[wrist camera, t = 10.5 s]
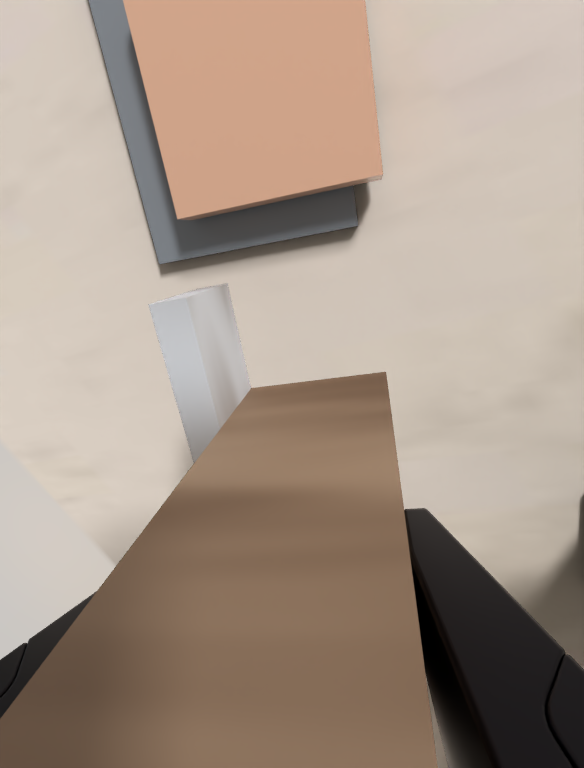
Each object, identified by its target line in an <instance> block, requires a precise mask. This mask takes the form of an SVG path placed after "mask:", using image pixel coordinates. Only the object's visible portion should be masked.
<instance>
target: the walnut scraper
mask: <svg viewBox="0 0 584 768" xmlns="http://www.w3.org/2000/svg"><path fill="white" fill-rule="evenodd" d="M148 305H149V308H150V312H151V315H152V319H153V322H154V326H155V329H156V333H157V336H158V340H159V343H160V347H161V350H162V354H163V357H164V361H165V364H166V368H167V371H168V374H169V378H170V381H171V385H172V388H173V392H174V395H175V399H176V402H177V406H178V409H179V413H180V416H181V420H182V423H183V427H184V430H185V434H186V437H187V441H188V444H189V448H190V451H191V455H192V458H193V462H194V464H193V466H192V467H191V468H190V470H189V471H188V472H187V474H186V475H185V476H184V477H183V479H182V480H181V481H180V483H179V484H178V485H177V487H176V488H175V489H174V491H173V492H172V493H171V495H170V496H169V497H168V499H167V500H166V501H165V503H164V504H163V505H162V506H161V508H160V509H159V510H158V512H157V513H156V514H155V516H154V517H153V518H152V520H151V521H150V522H149V524H148V525H147V526H146V528H145V529H144V530H143V531H142V533H141V534H140V535H139V537H138V538H137V539H136V541H135V542H134V543H133V545H132V546H131V547H130V549H129V550H128V551H127V553H126V554H125V555H124V557H123V558H122V559H121V560H120V562H119V563H118V564H117V566H116V567H115V568H114V570H113V571H112V572H111V574H110V575H109V576H108V578H107V579H106V580H105V582H104V583H103V584H102V586H101V587H100V588H99V589H98V591H97V592H96V593H95V595H94V596H93V597H92V599H91V600H90V601H89V603H88V604H87V605H86V607H85V608H84V609H83V611H82V612H81V613H80V614H79V616H78V617H77V618H76V620H75V621H74V622H73V624H72V625H71V626H70V628H69V629H68V630H67V632H66V633H65V634H64V636H63V637H62V638H61V640H60V641H59V642H58V643H57V645H56V646H55V647H54V649H53V650H52V651H51V653H50V654H49V655H48V657H47V658H46V659H45V661H44V662H43V663H42V665H41V666H40V667H39V669H38V670H37V671H36V672H35V674H34V675H33V676H32V678H31V679H30V680H29V682H28V683H27V684H26V686H25V687H24V688H23V690H22V691H21V692H20V694H19V695H18V696H17V698H16V699H15V700H14V701H13V703H12V704H11V705H10V707H9V708H8V709H7V711H6V712H5V713H4V715H3V716H2V717H1V719H0V768H438V766H437V758H436V751H435V743H434V736H433V728H432V720H431V713H430V705H429V697H428V690H427V682H426V674H425V667H424V659H423V651H422V644H421V636H420V628H419V621H418V613H417V606H416V598H415V590H414V583H413V575H412V567H411V560H410V552H409V544H408V537H407V529H406V521H405V514H404V506H403V498H402V491H401V483H400V476H399V468H398V460H397V453H396V445H395V437H394V430H393V422H392V414H391V407H390V399H389V391H388V384H387V376H386V372H381V373H372V374H364V375H356V376H348V377H340V378H331V379H323V380H315V381H307V382H299V383H290V384H282V385H274V386H266V387H258V388H251V385H250V381H249V376H248V372H247V368H246V363H245V359H244V354H243V350H242V345H241V341H240V337H239V332H238V328H237V323H236V319H235V315H234V310H233V306H232V301H231V297H230V292H229V288H228V284H221V285H216V286H210V287H205V288H199V289H195V290H192V291H189V292H186V293H183V294H180V295H177V296H173V297H170V298H167V299H164V300H161V301H158V302H155V303H151V304H148Z"/></svg>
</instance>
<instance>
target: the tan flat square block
mask: <svg viewBox="0 0 584 768" xmlns="http://www.w3.org/2000/svg"><path fill="white" fill-rule="evenodd" d="M123 3H124V7H125V11H126V15H127V19H128V23H129V27H130V31H131V35H132V39H133V43H134V47H135V51H136V55H137V59H138V63H139V67H140V71H141V75H142V79H143V83H144V87H145V91H146V95H147V99H148V103H149V107H150V111H151V115H152V119H153V123H154V127H155V131H156V135H157V139H158V143H159V147H160V151H161V155H162V159H163V163H164V167H165V171H166V175H167V179H168V183H169V187H170V191H171V195H172V199H173V203H174V207H175V211H176V215H177V219H181V220H196V219H200V218H205V217H210V216H214V215H219V214H223V213H228V212H233V211H237V210H242V209H247V208H251V207H256V206H260V205H265V204H270V203H274V202H279V201H284V200H288V199H293V198H297V197H302V196H307V195H311V194H316V193H321V192H325V191H330V190H334V189H339V188H344V187H348V186H353V185H357V184H362V183H367V182H371V181H376V180H381V179H382V176H383V170H382V160H381V151H380V141H379V131H378V122H377V112H376V102H375V92H374V83H373V73H372V63H371V54H370V44H369V34H368V25H367V15H366V5H365V0H123Z"/></svg>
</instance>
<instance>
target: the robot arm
mask: <svg viewBox="0 0 584 768" xmlns="http://www.w3.org/2000/svg"><path fill="white" fill-rule="evenodd" d="M404 514H405V521H406V529H407V537H408V544H409V552H410V560H411V567H412V575H413V583H414V590H415V598H416V606H417V613H418V621H419V628H420V636H421V644H422V651H423V659H424V667H425V673H426V677H427V681H428V685H429V689H430V693H431V697H432V702H433V706H434V710H435V714H436V718H437V722H438V726H439V730H440V734H441V738H442V742H443V747H444V751H445V755H446V759H447V763H448V767H449V768H584V669H583V668H582V667H581V666H580V665H579V664H578V663H577V662H576V661H575V660H574V659H573V658H572V657H571V656H570V655H565V651H564V649H563V648H562V647H561V646H560V645H559V644H558V643H557V642H556V641H555V640H554V639H553V638H552V637H551V636H550V635H549V634H548V633H547V632H546V631H545V630H544V629H543V628H542V627H541V626H540V625H539V623H538V622H537V621H536V620H535V619H534V618H533V617H532V616H531V615H530V614H529V613H528V612H527V611H526V610H525V609H524V608H523V607H522V606H521V605H520V604H519V603H518V602H517V601H516V600H515V599H514V598H513V597H512V596H511V595H510V594H509V593H508V592H507V591H506V590H505V589H504V588H503V587H502V586H501V585H500V584H499V583H498V582H497V581H496V580H495V578H494V577H493V576H492V575H491V574H490V573H489V572H488V571H487V570H486V569H485V568H484V567H483V566H482V565H481V564H480V563H479V562H478V561H477V560H476V559H475V558H474V557H473V556H472V555H471V554H470V553H469V552H468V551H467V550H466V549H465V548H464V547H463V546H462V545H461V544H460V543H459V542H458V541H457V540H456V539H455V538H454V537H453V536H452V534H451V533H450V532H449V531H448V530H447V529H446V528H445V527H444V526H443V525H442V524H441V523H440V522H439V521H438V520H437V519H436V518H435V517H434V516H433V515H432V514H431V513H430V512H429V511H428V510H427V509H425V508H418V509H405V510H404ZM96 592H97V591H96ZM96 592H95V593H96ZM95 593H94V594H92V595H91V596H89V597H88V598H87V599H85V600H84V601H82V602H81V603H80V604H78V605H77V606H75V607H74V608H73V609H71V610H70V611H68V612H67V613H66V614H64V615H63V616H62V617H60V618H59V619H57V620H56V621H54V622H53V623H52V624H50V625H49V626H47V627H46V628H45V629H43V630H42V631H40V632H39V633H37V634H36V635H35V636H33V637H32V638H30V639H29V641H28V644H27V643H23V644H22V645H20V646H19V647H18V648H16V649H15V650H13V651H12V652H11V653H9V654H8V655H6V656H5V657H4V658H2V659H1V660H0V719H1V717H2V716H3V715H4V713H5V712H6V711H7V709H8V708H9V707H10V705H11V704H12V703H13V701H14V700H15V699H16V698H17V696H18V695H19V694H20V692H21V691H22V690H23V688H24V687H25V686H26V684H27V683H28V682H29V680H30V679H31V678H32V676H33V675H34V674H35V672H36V671H37V670H38V669H39V667H40V666H41V665H42V663H43V662H44V661H45V659H46V658H47V657H48V655H49V654H50V653H51V651H52V650H53V649H54V647H55V646H56V645H57V643H58V642H59V641H60V640H61V638H62V637H63V636H64V634H65V633H66V632H67V630H68V629H69V628H70V626H71V625H72V624H73V622H74V621H75V620H76V618H77V617H78V616H79V614H80V613H81V612H82V611H83V609H84V608H85V607H86V605H87V604H88V603H89V601H90V600H91V599H92V597H93V596H94V595H95Z"/></svg>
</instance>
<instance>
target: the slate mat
mask: <svg viewBox="0 0 584 768" xmlns="http://www.w3.org/2000/svg"><path fill="white" fill-rule="evenodd" d="M89 4H90V8H91V12H92V15H93V19H94V23H95V27H96V30H97V34H98V38H99V41H100V45H101V49H102V53H103V56H104V60H105V64H106V68H107V71H108V75H109V79H110V82H111V86H112V90H113V94H114V97H115V101H116V105H117V109H118V112H119V116H120V120H121V123H122V127H123V131H124V135H125V138H126V142H127V146H128V150H129V153H130V157H131V161H132V164H133V168H134V172H135V176H136V179H137V183H138V187H139V191H140V194H141V198H142V202H143V205H144V209H145V213H146V217H147V220H148V224H149V228H150V232H151V235H152V239H153V243H154V246H155V250H156V254H157V258H158V261H159V264H163V263H169V262H174V261H179V260H184V259H190V258H195V257H200V256H205V255H210V254H216V253H221V252H226V251H231V250H236V249H241V248H247V247H252V246H257V245H262V244H267V243H272V242H278V241H283V240H288V239H293V238H298V237H303V236H309V235H314V234H319V233H324V232H329V231H334V230H340V229H345V228H350V227H355V226H358V221H357V213H356V205H355V197H354V188H353V186H348V187H344V188H339V189H334V190H330V191H325V192H321V193H316V194H311V195H307V196H302V197H297V198H293V199H288V200H284V201H279V202H274V203H270V204H265V205H260V206H256V207H251V208H247V209H242V210H237V211H233V212H228V213H223V214H219V215H214V216H210V217H205V218H200V219H196V220H181V219H177V215H176V211H175V207H174V203H173V199H172V195H171V191H170V187H169V183H168V179H167V175H166V171H165V167H164V163H163V159H162V155H161V151H160V147H159V143H158V139H157V135H156V131H155V127H154V123H153V119H152V115H151V111H150V107H149V103H148V99H147V95H146V91H145V87H144V83H143V79H142V75H141V71H140V67H139V63H138V59H137V55H136V51H135V47H134V43H133V39H132V35H131V31H130V27H129V23H128V19H127V15H126V11H125V7H124V3H123V0H89Z"/></svg>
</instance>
